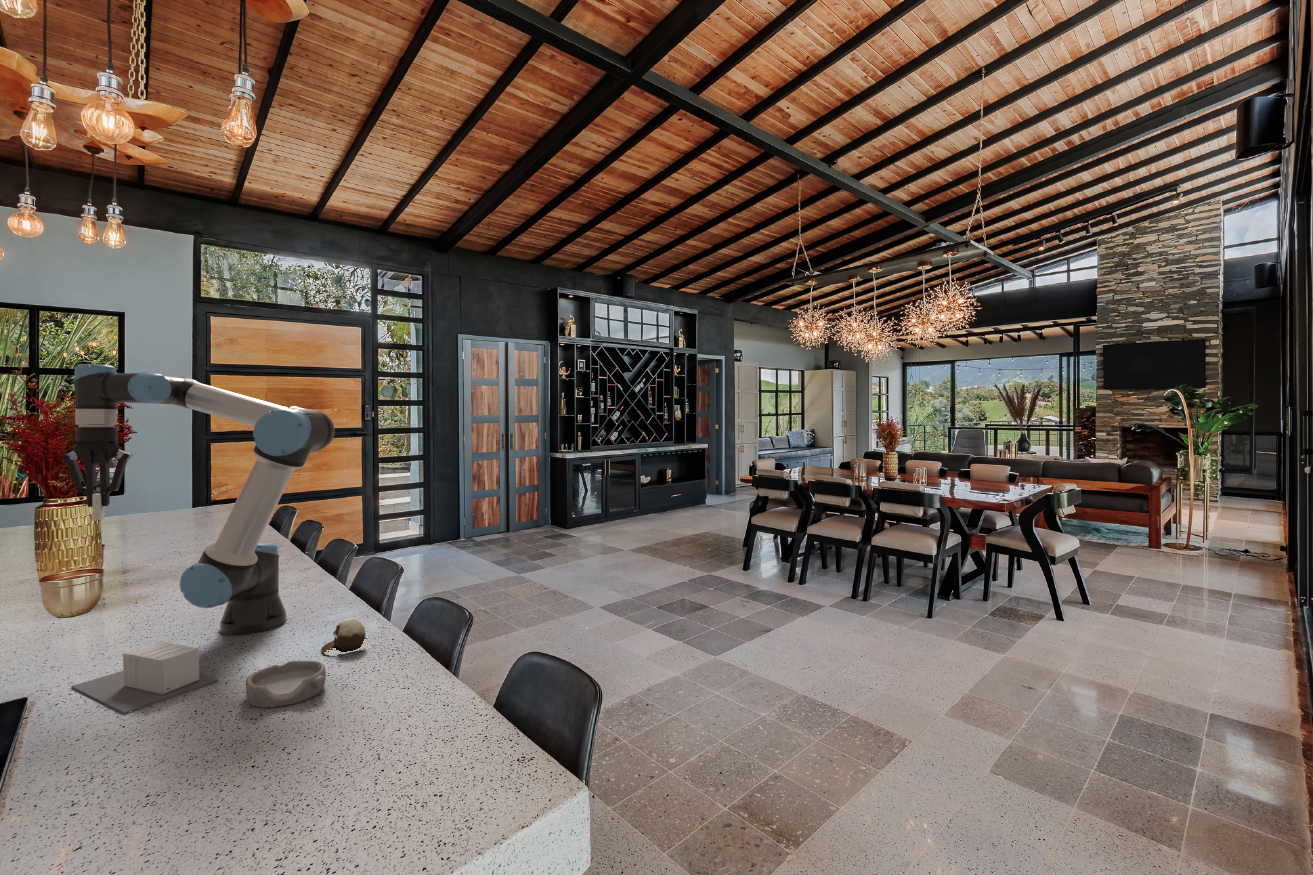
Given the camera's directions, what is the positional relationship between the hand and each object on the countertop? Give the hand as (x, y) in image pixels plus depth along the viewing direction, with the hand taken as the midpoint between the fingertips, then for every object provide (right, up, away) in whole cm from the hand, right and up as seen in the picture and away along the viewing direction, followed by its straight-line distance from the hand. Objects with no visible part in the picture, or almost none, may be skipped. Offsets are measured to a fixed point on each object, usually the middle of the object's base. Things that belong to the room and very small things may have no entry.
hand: (99, 519), depth 144 cm
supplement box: (+28, -29, -19) cm, 44 cm away
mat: (+30, -33, -21) cm, 49 cm away
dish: (+63, -34, -24) cm, 76 cm away
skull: (+63, -33, +1) cm, 71 cm away
